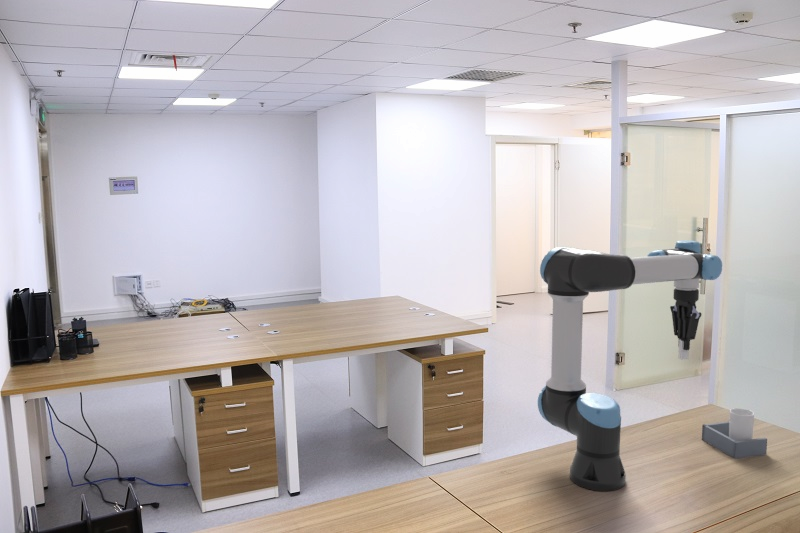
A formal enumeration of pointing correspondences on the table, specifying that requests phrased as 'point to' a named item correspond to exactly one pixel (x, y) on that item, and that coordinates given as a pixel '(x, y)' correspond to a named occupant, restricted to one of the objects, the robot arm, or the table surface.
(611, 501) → the table surface
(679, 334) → the robot arm
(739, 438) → the mug
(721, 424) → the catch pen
